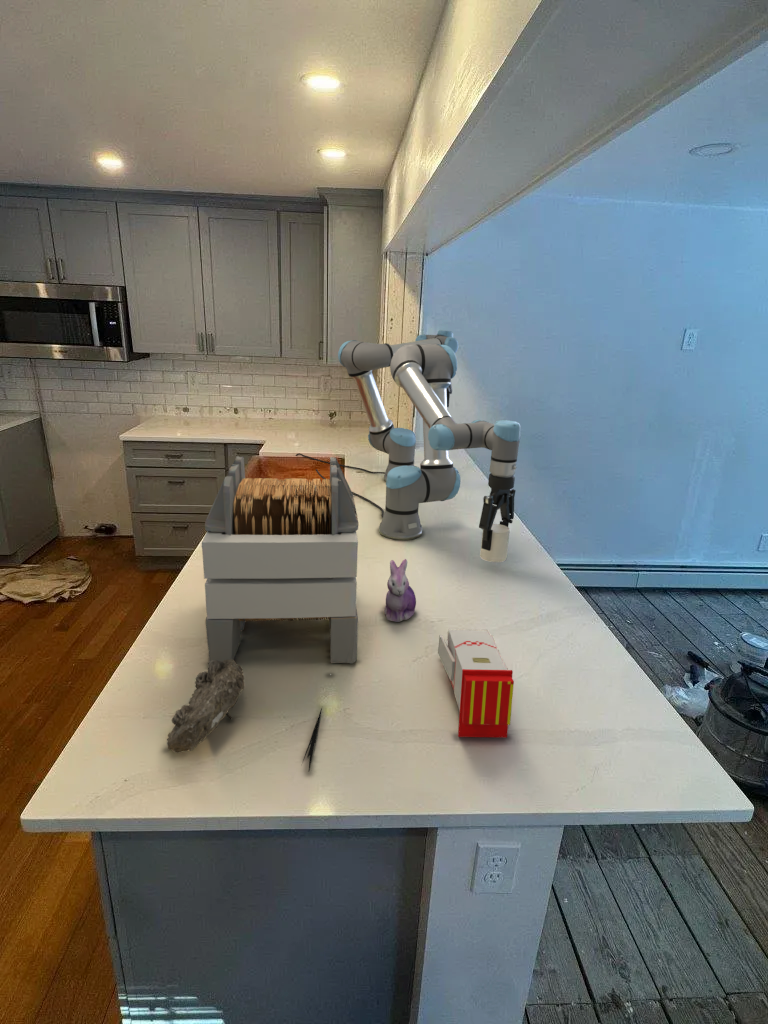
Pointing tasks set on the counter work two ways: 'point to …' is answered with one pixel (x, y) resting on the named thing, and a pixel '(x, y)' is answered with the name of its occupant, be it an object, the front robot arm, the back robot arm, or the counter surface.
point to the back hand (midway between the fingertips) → (439, 408)
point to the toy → (478, 682)
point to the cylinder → (497, 544)
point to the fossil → (206, 705)
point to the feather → (313, 740)
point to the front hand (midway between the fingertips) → (494, 545)
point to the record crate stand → (281, 558)
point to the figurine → (399, 594)
